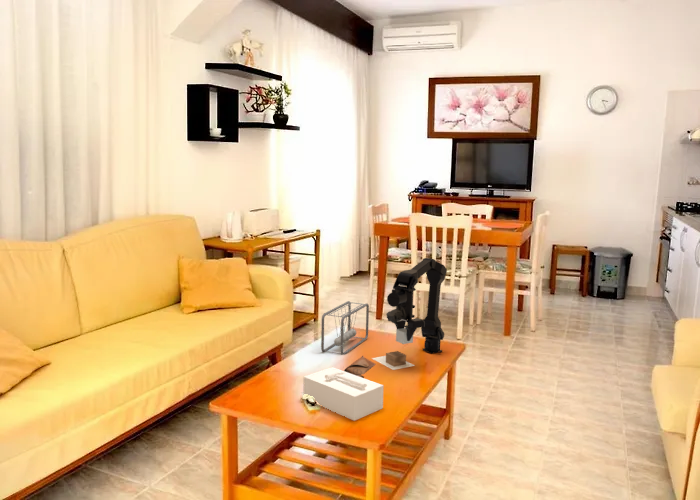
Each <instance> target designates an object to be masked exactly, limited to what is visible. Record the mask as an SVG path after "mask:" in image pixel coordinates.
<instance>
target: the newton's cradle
mask: <svg viewBox="0 0 700 500" xmlns="http://www.w3.org/2000/svg"><path fill="white" fill-rule="evenodd" d="M352 304H356V305H357V306H355V307H354V308H352ZM365 307H366V308H365ZM364 308H365V309H366V311H365V313H366V314H365V316H366V317H365V320H366V321H365V337H361V336H360V337H359V336H356V335H357V330H356V329H355V328H354V327H355V326H352V323H354V324H355V323H356V322H355V321H354V322H353V321H352V320H353V319H354V320H356V316H355V318H354V317H352V316H351V315H354V314H355V315H357V313H358V311H360V310H362V309H364ZM343 309H344V311H343ZM339 311H340V313H337V312H339ZM343 312H345V313H343ZM336 313H337V315H336ZM339 314H340V315H339ZM369 315H370V306H369V304H368V303H359V302H351V301H349V300H348V301H345V302H344V303H341V304H339V305H337V306H336V307H333V308H332V309H330V310H327V311H326V312H324V313H323V314H322V316H321V330H320V331H321V338H320V339H321V341H320V345H321V346H320V347H321V348H320V349H321V353H331V354H338V355H347V354H348V353H350V351H352V350H354V349H355V348H357V347H358V346H359V345H361V344H362V343H364V342H365V341H367V339H368V338H369V318H370V317H369ZM326 316H329V317H330V316H331V317H335V318H341V321H340V319H338V320H339V321H338V322H339V323H340V327H339V328H340V332H339V333H340V334H338V333H336V336H337V337H335V338H334V340H333V343H332V344H331V345H329V346H327V347H326V348H325V317H326ZM351 317H352V319H351ZM345 320H347V321H345ZM334 321H335V324H337V321H336V319H334ZM346 324H347V328H346V326H345V325H346ZM337 327H338V326H335V329H336V330H335V331H338V328H337ZM345 328H346V329H345ZM352 338H353V339H354V338H355V339H361V340H360V341H357V343H355V344H354V345H352V346H351V347H349V348H348V349H346V350H345V351H344V344H345V343H346V342H348V341H349V340H350V339H352ZM335 346H336V347H340V352H335V351H330V350H331V349H332V348H333V347H335Z"/></svg>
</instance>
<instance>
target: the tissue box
mask: <svg viewBox="0 0 700 500" xmlns="http://www.w3.org/2000/svg"><path fill="white" fill-rule="evenodd" d="M304 394H308V395H310V396H313V397H314V398H315V400H316V401H317V402H318V403H319V404H320V405H322V406H323V407H325V408H324V409H326V408H327V409H326V410H328V409H329V410H328V411H330V410H331V411H330V412H332V413H335V412H336V413H335V414H338V415H340V416H343V417H344V416H345V418H347V419H349V420H351V421H354V422H355V421H357V420H359V419H361V418H364V417H366V416H368V415H370V414H373V413H375V412H377V411H380V410H382V409H383V408H384V384H380V383H378V382H375V381H372V380H369V379H367V378H365V377H364V378H362V377H359V376H356V375H353V374H350V373H348V372H345V371H344V370H341V369H339V368H336V367H333V366H332V367H329V368H325V369H322V370H320V371H319V370H318V371H317V372H313V373H311V374H307V375H304V376H303V395H304ZM303 395H302V396H303ZM323 407H322V408H323Z"/></svg>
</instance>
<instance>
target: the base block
mask: <svg viewBox="0 0 700 500" xmlns="http://www.w3.org/2000/svg"><path fill="white" fill-rule="evenodd" d="M385 356H386V363H388V364H390V365H392V366H394V367H395V366H400V365H405V364H406V361H407V354H405V353H403V352H401V351H398V350H395V351H390V352H385Z"/></svg>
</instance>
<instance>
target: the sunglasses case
mask: <svg viewBox="0 0 700 500" xmlns="http://www.w3.org/2000/svg"><path fill="white" fill-rule="evenodd" d="M375 366H376V363H375V362H373V361H371V360H370V359H368V358H366V357H365V356H364V355H362V356H360V357H359V358H358V359H356V360H355V361H353V362H352V363H351V364H350V365H348V366H347V367H346V368H345V369H344V370H343V371H345V372H348V373H350V374H353V375H356V376H359V377H362V378H364V379H365V376H364V374H367V372H369V370H371V369H372V368H374V367H375Z"/></svg>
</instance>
